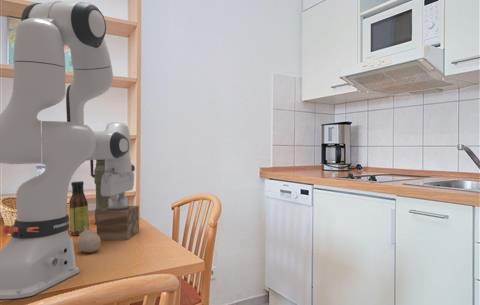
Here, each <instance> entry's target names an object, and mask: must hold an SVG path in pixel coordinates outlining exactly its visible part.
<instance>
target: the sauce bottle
mask: <svg viewBox="0 0 480 305" xmlns="http://www.w3.org/2000/svg"><path fill="white" fill-rule="evenodd" d="M70 182H71V190H72V192H71V193H72V195H71V197H70V198H69V227H70V232H71V234H70V235H71V236H76V237H77V236H78V237H79V235H80V233H81V232H83V231H84V230H85V228H84V226H86V227H87V229H88V230H89V231H90V220H89V217H90V216H89V203H88V200H87V198H86V195H85V192H84V183H85V182H84V181H83V180H77V181H70Z"/></svg>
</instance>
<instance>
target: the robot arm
mask: <svg viewBox="0 0 480 305" xmlns="http://www.w3.org/2000/svg"><path fill="white" fill-rule="evenodd" d="M20 18H21V20H20V22H19V23H18V25H17V29H16V33H15V38H14V46H13V84H12V86H13V87H12V93H11V96H10V100H9V101H8V103H7V105H6V107H5V108H4V109H3V111H2V112H1V113H0V164H7V165H29V164H31V165H32V164H37V165H38V164H42V165H45V170H44V171H43V172H42V173H41V174H38V175H37V176H34V177H32V178H30V179H28V180H26V181H24V182H23V183H21V185H19V186H18V188H17V191H16V194H15V195H16V196H15V198H16V204H15V205H16V219H15V220H14V223H13V225H7V224H6V225H4V226H3V228H2V233H3V234H4V235H10V236H11V237H10V239H9V241H7V243H6V244H5V245H4V246H3V247H2V249H1V250H0V300H11V299H13V300H14V299H21V298H27V297H31V296H34V295H37V294H39V293H41V292H43V291H44V290H46V289H49V288H51V287H53V286H55V285H57V284H58V283H60V282H62V281H65V280H66V279H69V278H71V277H72V276H75V275H76V274H77V275H78V274H79V273H80V272H81V271H80V266H78V265H76V256H75V255H76V254H75V247H74V240H73V238H72V237H71V236H70V235H71V234H69V231H68V230H69V228H70V215H69V214H68V192H69V185H70V182H71V179H72V178H73V175H74V174H75V172H76V171H77V170H78V168H79V167H81V166H82V165H83V163H85V162H86V161H90V160H93V161H96V160H104V159H105V173H104V175H103V176H102V179H101V195H102V196H111V199H112V202H113V207H117V206H119V201H118V197H126V192H128V191H131V190H133V189H134V185H135V173H134V172H135V170H136V167H135V164H133V163H132V162H131V157H130V156H131V155H130V151H131V137H130V136H131V134H130V130H129V126H128V125H127V124H125V123H123V122H122V123H121V122H109V123H107V124H106V127H105V130H102V131H101V130H100V131H93V130H92V128H91V126H89V125H88V124H87V125H86V124H85V115H84V114H85V110H84V107H85V105H86V103H87V102H88V101H90V100H93V99H95V98H97V97H100V96H101V95H103V94H105V93H106V92H108V91H109V90H110V89H111V87H112V85H113V82H114V72H113V67H112V61H111V56H110V53H109V49H108V47H107V43H106V41H105V36H106V33H107V24H106V23H107V22H106V19H105V17H104V14H103V13H102V11H100V9H99V8H98V7H97V6H96V5H94V4H92V3H89V2H83V1H79V2H72V1H61V0H57V1H47V2H35V3H32V4H29V5H28V6H26V7H24V9H23V10H22V13H21V17H20ZM66 46H67V47H68V48H69V50H70V59H71V65H72V71H73V76H72V77H73V78H72V82H71V83H70V84H69V85H68V86H67V87H66V56H65V48H64V47H66ZM64 99H65V110H66V121H55V120H40V119H38V115H39V113H40V112H41V111H43V110H46V109H49V108H51V107H53V106H56V105H58V104H60V103H62V101H63V100H64Z"/></svg>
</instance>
